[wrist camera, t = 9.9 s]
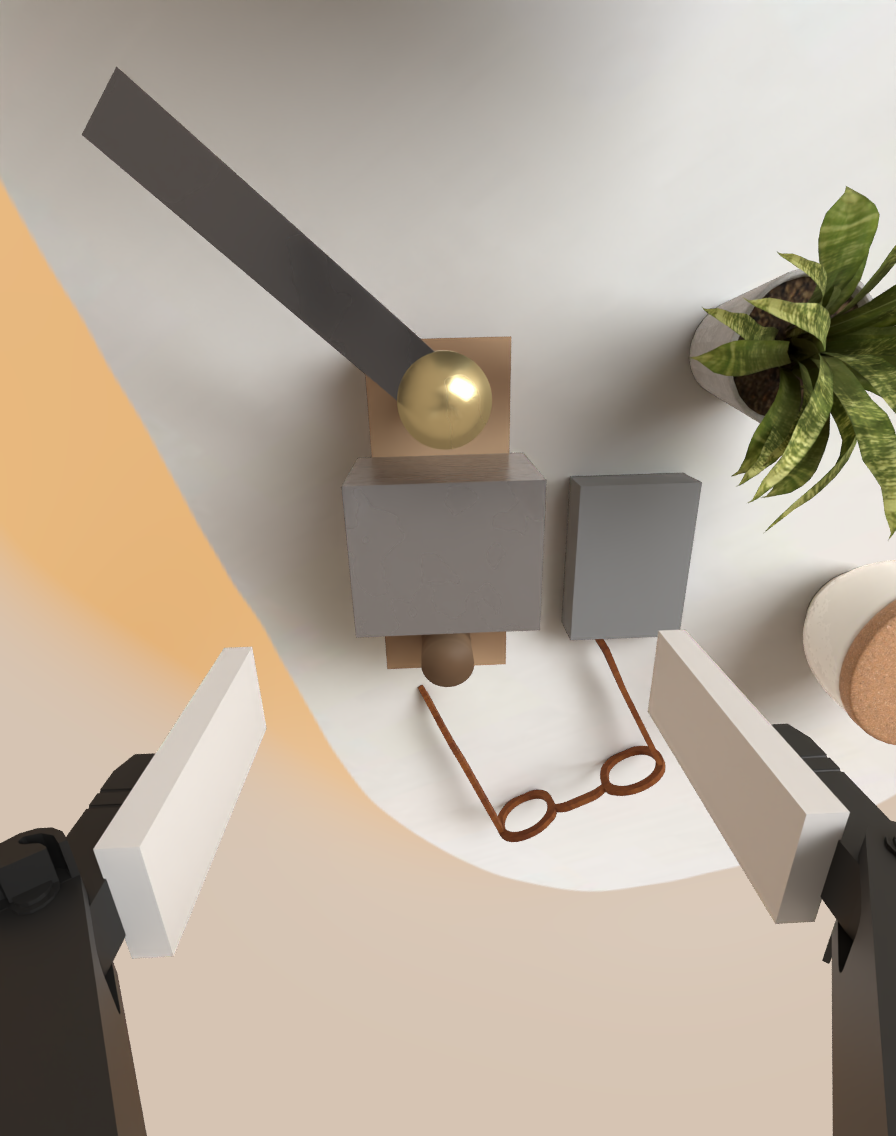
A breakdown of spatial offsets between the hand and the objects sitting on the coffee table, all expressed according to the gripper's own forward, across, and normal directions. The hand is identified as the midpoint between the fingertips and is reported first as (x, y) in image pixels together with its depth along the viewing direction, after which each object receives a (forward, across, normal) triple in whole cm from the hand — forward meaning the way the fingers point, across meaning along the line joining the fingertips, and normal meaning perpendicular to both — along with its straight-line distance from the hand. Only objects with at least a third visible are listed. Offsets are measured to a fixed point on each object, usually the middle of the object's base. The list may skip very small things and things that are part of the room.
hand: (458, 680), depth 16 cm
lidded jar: (+20, +28, -9) cm, 36 cm away
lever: (+8, -4, +11) cm, 14 cm away
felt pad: (+20, +12, -4) cm, 23 cm away
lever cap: (+15, 0, 0) cm, 15 cm away
